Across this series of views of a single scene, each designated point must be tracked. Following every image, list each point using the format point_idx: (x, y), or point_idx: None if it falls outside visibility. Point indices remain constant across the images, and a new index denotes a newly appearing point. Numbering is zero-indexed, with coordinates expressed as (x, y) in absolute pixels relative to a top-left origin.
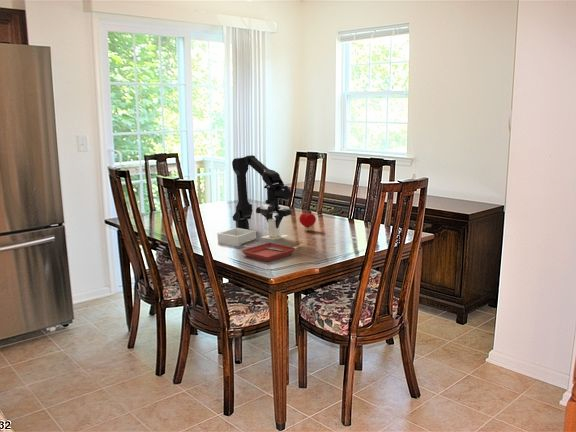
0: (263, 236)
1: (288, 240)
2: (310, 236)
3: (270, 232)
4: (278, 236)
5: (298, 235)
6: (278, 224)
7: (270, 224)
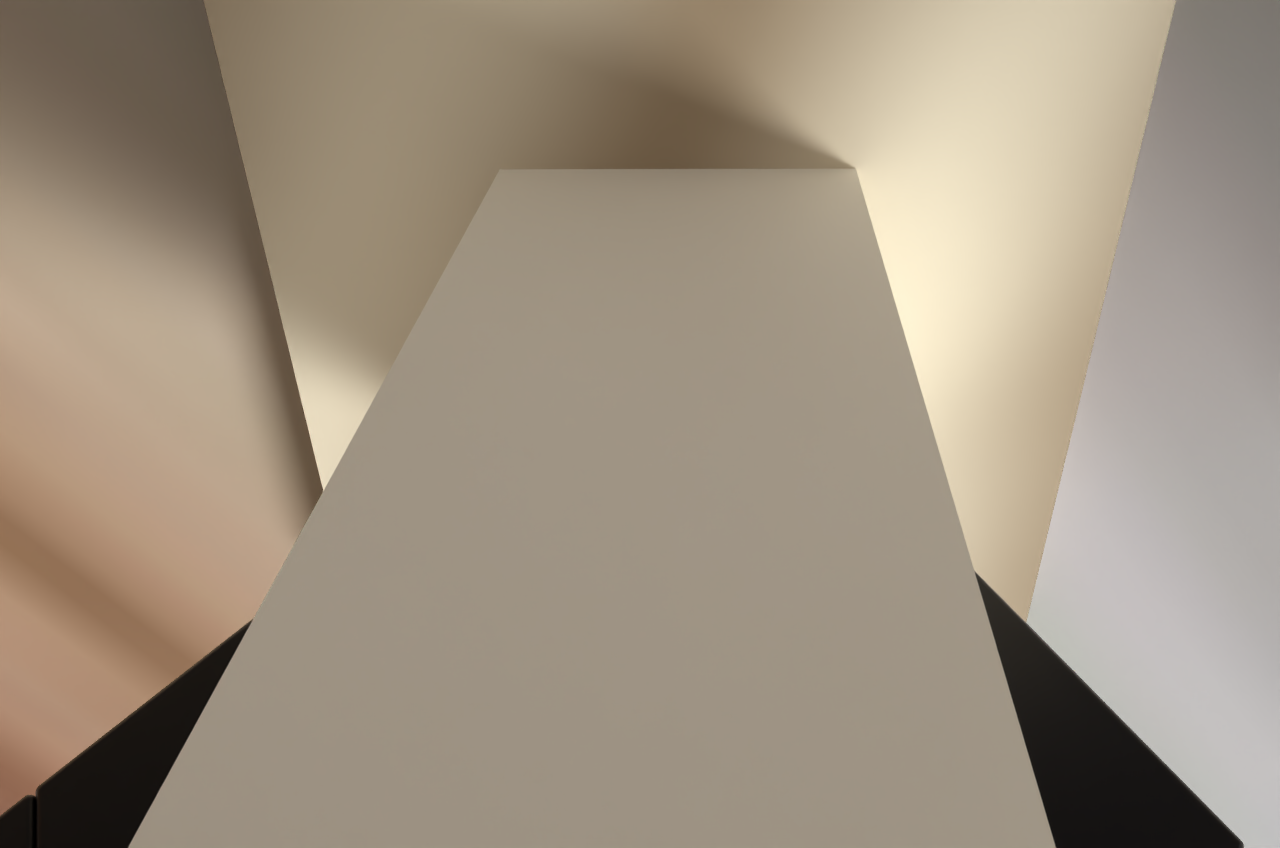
0: (1125, 82)
1: (43, 299)
2: None
3: (744, 256)
4: None
5: None
6: None
7: (717, 548)
